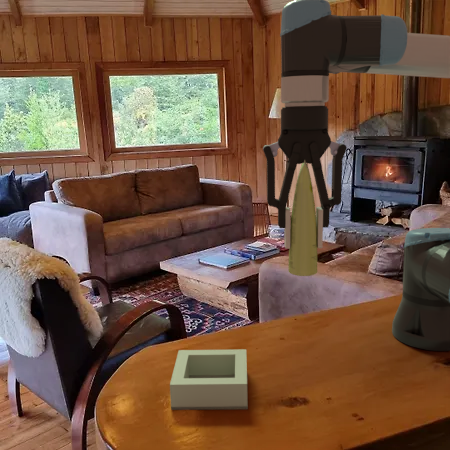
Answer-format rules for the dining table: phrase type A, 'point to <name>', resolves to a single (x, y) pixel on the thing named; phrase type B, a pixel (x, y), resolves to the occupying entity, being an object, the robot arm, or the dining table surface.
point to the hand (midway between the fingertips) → (303, 246)
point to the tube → (303, 228)
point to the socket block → (209, 380)
